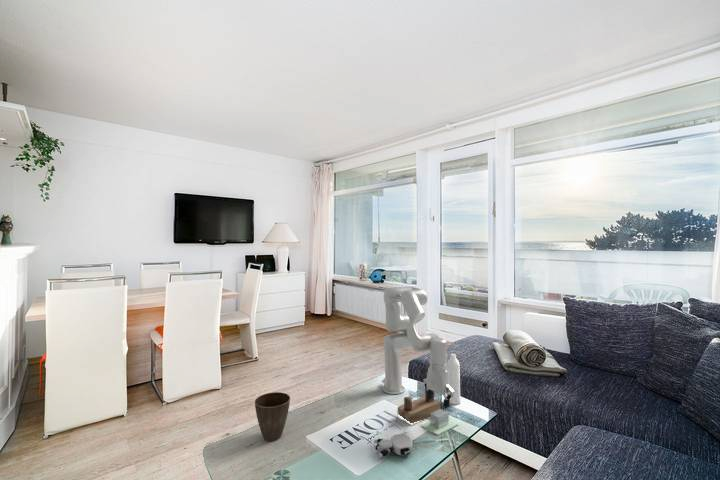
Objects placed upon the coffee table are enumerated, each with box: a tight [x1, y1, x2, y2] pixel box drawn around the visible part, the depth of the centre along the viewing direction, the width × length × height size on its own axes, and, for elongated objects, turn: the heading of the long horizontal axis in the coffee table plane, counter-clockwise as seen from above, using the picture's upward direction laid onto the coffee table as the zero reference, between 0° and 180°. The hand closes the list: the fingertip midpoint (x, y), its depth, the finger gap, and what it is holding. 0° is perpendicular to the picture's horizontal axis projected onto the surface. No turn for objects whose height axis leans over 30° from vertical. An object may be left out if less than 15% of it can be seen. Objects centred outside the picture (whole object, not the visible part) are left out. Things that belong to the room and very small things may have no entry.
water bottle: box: [447, 353, 461, 405], centre depth 179 cm, size 9×6×25 cm
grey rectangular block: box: [429, 408, 450, 429], centre depth 155 cm, size 5×7×5 cm
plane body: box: [397, 386, 441, 423], centre depth 165 cm, size 9×20×12 cm, turn 127°
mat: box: [420, 419, 459, 436], centre depth 155 cm, size 10×14×1 cm
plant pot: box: [254, 391, 291, 442], centre depth 147 cm, size 15×15×16 cm
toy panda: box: [373, 431, 416, 458], centre depth 136 cm, size 12×4×15 cm
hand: (438, 403), depth 156 cm, fingers open, 9 cm apart
